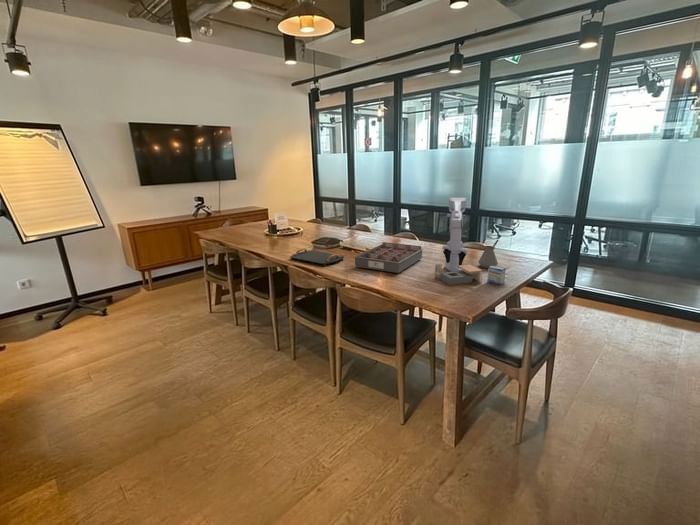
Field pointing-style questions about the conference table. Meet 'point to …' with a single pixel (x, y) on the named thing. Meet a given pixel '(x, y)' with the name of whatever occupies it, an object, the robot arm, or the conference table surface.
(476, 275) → the peach slab
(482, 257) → the coffee pot
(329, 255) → the serving board
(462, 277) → the socket block
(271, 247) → the conference table surface
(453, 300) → the conference table surface
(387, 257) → the organizer tray
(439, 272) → the peg
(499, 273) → the medicine box
